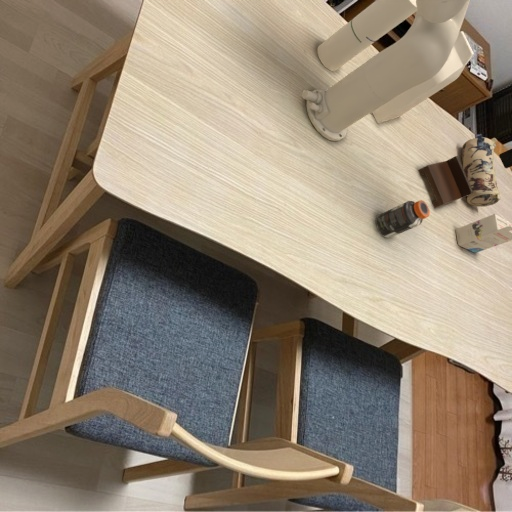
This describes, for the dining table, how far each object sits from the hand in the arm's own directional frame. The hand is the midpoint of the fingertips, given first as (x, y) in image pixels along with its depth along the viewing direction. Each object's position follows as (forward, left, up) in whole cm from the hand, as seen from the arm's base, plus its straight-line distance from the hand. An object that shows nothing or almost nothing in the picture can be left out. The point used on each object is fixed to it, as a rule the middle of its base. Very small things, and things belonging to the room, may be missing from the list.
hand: (510, 157), depth 119 cm
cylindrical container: (-16, +37, -29) cm, 50 cm away
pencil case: (+39, +16, -29) cm, 51 cm away
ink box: (+29, -5, -29) cm, 41 cm away
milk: (+2, +31, -29) cm, 43 cm away
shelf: (+21, +10, -29) cm, 37 cm away
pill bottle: (-7, -6, -29) cm, 30 cm away
